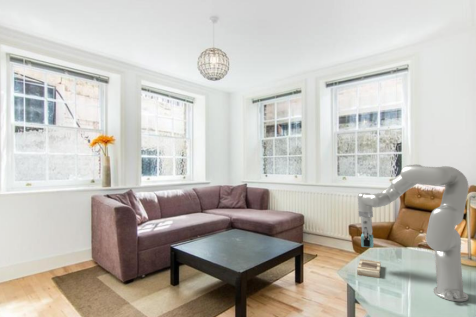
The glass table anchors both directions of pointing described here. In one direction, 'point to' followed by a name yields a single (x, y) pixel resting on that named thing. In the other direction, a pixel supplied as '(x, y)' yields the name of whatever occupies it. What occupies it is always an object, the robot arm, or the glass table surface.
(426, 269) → the glass table surface
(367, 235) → the teal block
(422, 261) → the glass table surface
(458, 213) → the robot arm
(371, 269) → the birch base
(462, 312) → the glass table surface
